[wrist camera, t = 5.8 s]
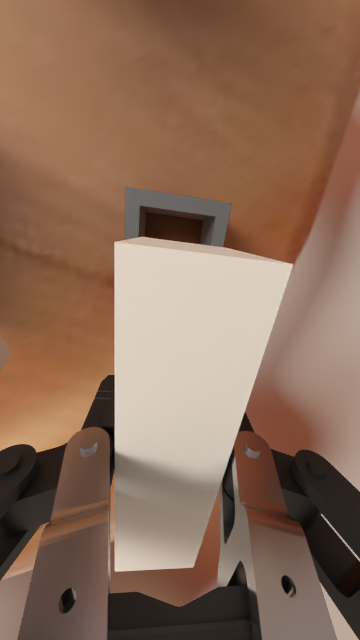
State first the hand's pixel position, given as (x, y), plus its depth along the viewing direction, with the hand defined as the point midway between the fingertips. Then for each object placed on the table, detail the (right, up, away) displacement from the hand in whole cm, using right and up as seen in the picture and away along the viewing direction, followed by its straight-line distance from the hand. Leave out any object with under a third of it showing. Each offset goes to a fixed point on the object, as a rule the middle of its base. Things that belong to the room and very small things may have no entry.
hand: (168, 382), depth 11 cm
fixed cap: (0, +12, +10) cm, 16 cm away
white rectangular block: (0, 0, +1) cm, 1 cm away
